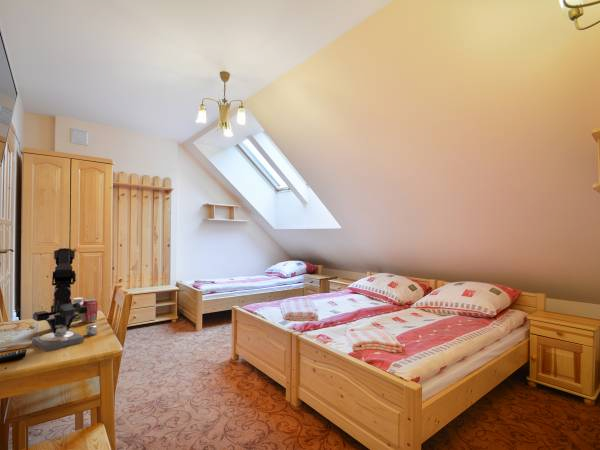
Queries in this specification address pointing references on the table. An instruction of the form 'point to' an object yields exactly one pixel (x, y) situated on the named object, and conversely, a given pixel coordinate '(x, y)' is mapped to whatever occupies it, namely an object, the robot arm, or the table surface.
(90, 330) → the cylinder
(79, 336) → the scale
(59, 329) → the cylinder
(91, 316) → the soda can
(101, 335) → the table surface
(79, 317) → the pill bottle
